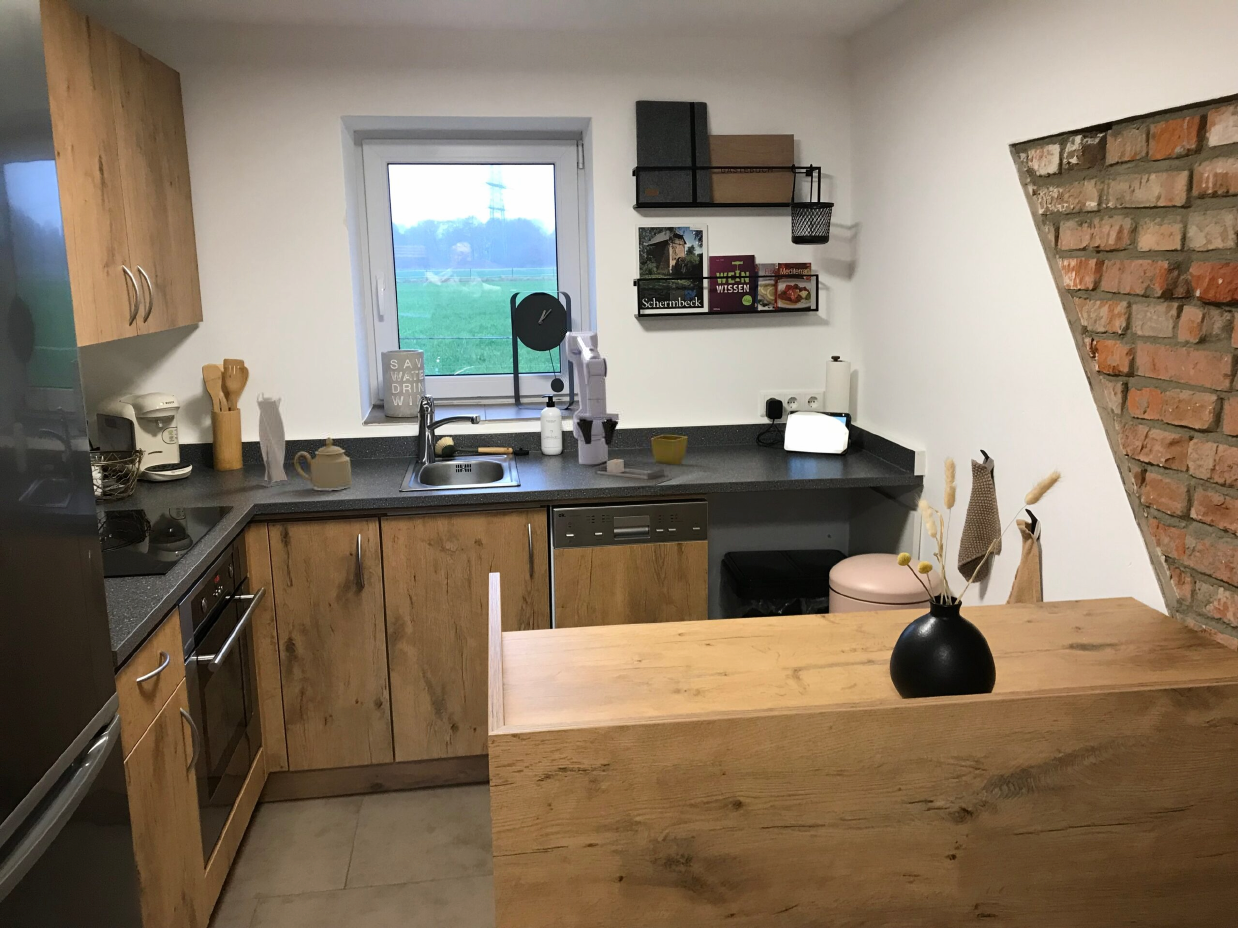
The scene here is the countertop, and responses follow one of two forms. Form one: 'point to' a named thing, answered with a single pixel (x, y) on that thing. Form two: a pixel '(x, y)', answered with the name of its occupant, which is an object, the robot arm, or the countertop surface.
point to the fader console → (650, 474)
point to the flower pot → (669, 448)
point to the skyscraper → (272, 438)
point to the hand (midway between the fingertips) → (598, 444)
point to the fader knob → (615, 466)
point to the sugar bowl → (327, 467)
